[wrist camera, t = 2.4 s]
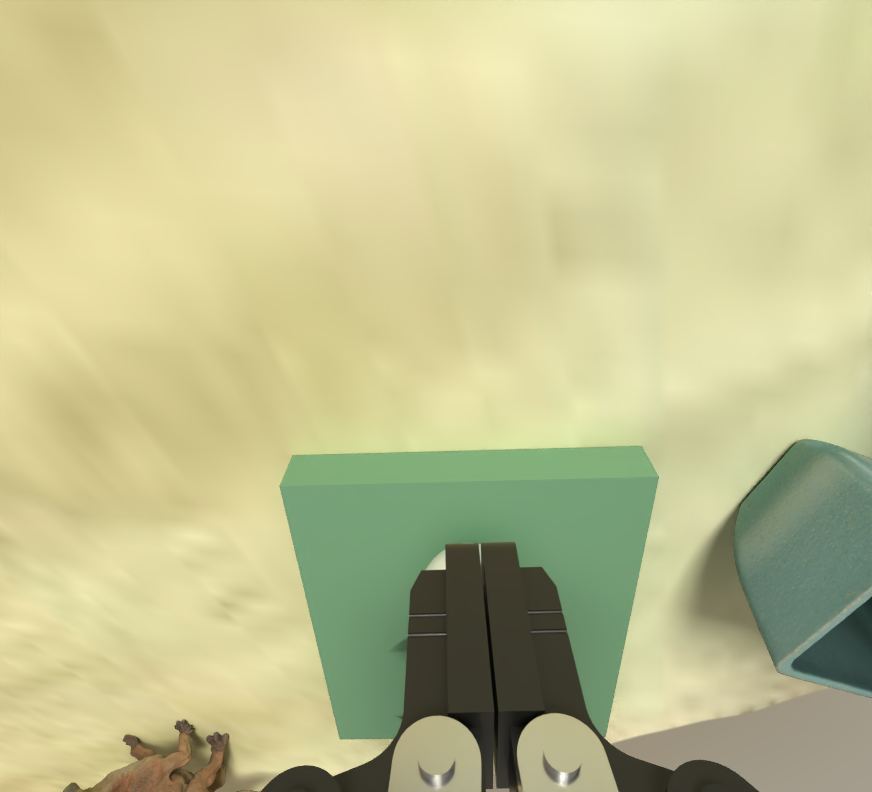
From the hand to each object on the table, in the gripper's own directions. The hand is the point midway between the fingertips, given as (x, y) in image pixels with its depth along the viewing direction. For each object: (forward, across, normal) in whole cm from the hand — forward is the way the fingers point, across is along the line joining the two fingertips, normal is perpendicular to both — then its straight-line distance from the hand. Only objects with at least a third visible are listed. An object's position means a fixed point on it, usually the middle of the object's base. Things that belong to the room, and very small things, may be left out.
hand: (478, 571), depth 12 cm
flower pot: (+14, -18, +10) cm, 25 cm away
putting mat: (+14, 0, +18) cm, 23 cm away
